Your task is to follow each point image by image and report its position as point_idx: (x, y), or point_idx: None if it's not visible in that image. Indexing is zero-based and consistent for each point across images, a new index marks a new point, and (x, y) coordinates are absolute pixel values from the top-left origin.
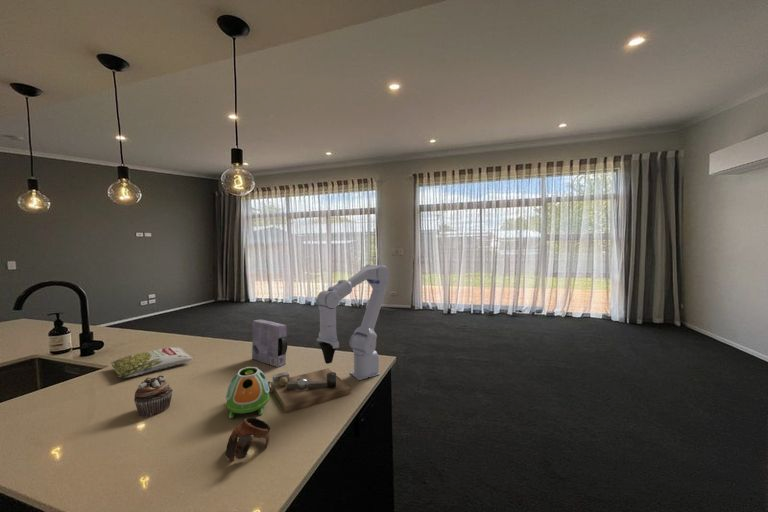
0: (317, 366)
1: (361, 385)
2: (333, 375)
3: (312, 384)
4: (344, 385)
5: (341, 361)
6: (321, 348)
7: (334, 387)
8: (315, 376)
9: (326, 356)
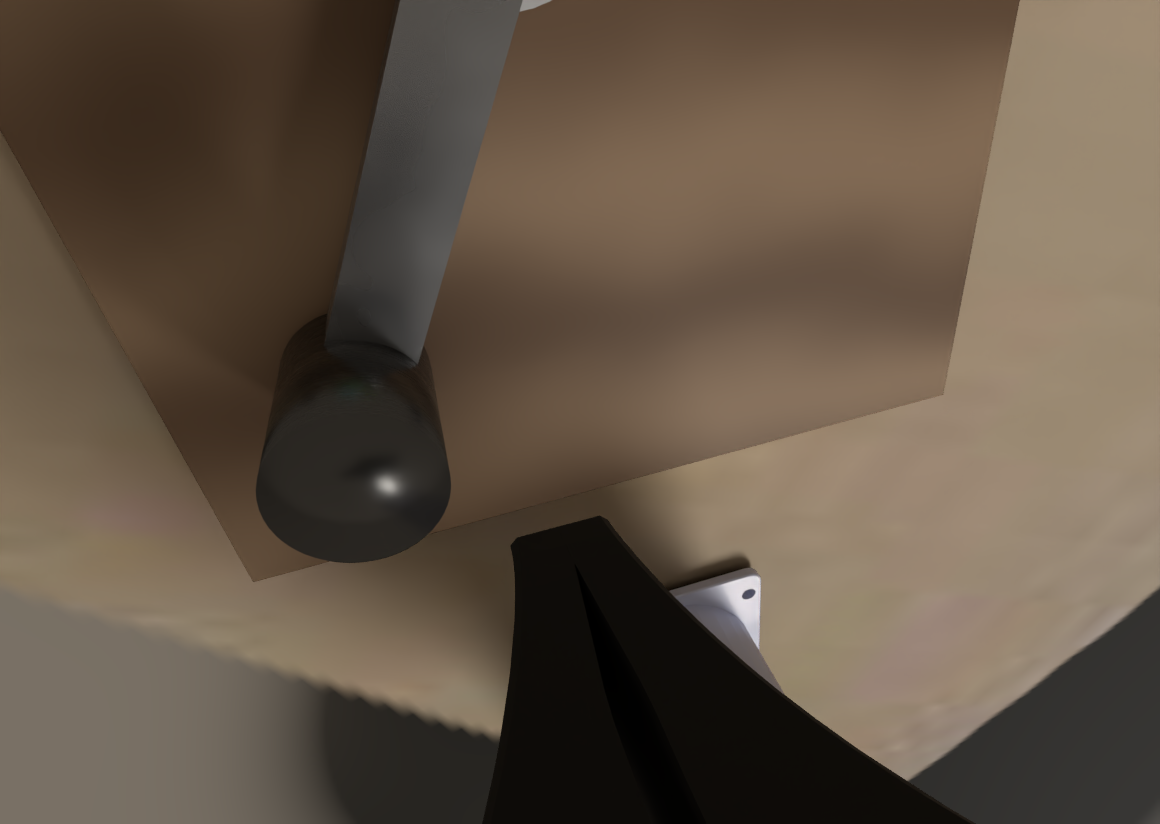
0: (1151, 268)
1: (426, 634)
2: (266, 522)
3: (387, 67)
4: None
5: (1053, 515)
6: (881, 818)
7: None
8: (819, 193)
9: (516, 718)
